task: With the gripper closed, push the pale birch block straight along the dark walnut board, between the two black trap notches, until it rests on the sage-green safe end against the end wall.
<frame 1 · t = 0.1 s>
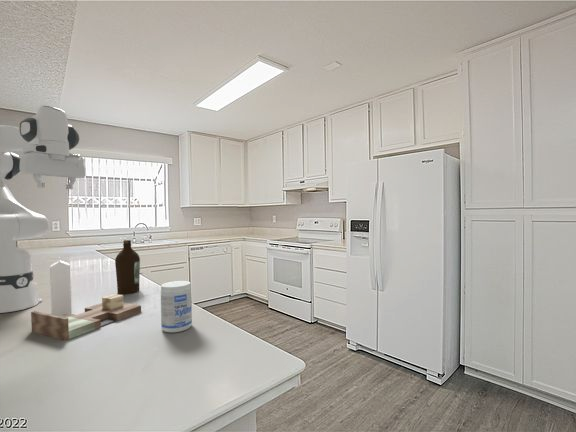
hand: (55, 188, 111), 48 cm above the counter, tool pointing down, fingers open, 8 cm apart
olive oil: (128, 292, 145), on the counter
block: (113, 306, 114), point 2 cm above the counter, touching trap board
supplement tub: (177, 328, 99), on the counter
milk: (61, 314, 114), on the counter
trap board: (90, 320, 107), on the counter
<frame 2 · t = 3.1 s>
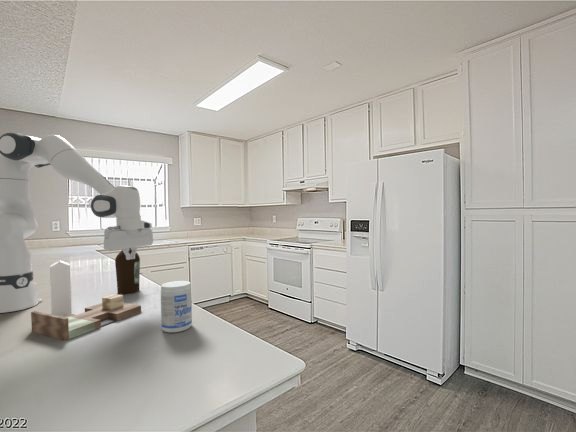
hand: (130, 259, 121), 20 cm above the counter, tool pointing down, fingers closed
nothing on the counter moved.
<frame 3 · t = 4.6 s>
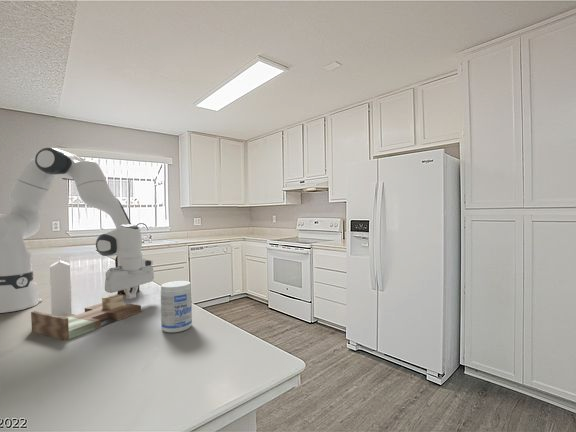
hand: (131, 297, 122), 4 cm above the counter, tool pointing down, fingers closed
nothing on the counter moved.
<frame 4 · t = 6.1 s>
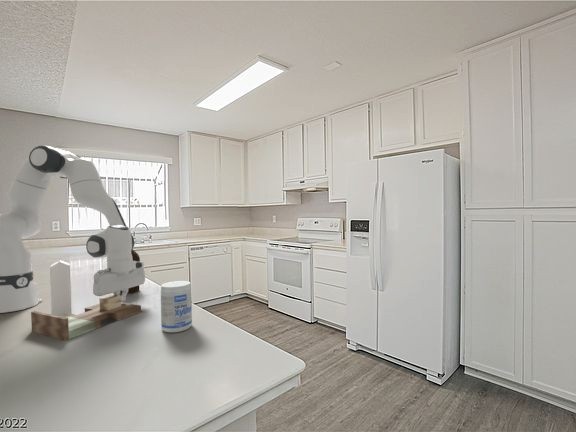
hand: (121, 301, 118), 4 cm above the counter, tool pointing down, fingers closed
block: (110, 307, 113), point 3 cm above the counter, touching gripper
everything else where it was.
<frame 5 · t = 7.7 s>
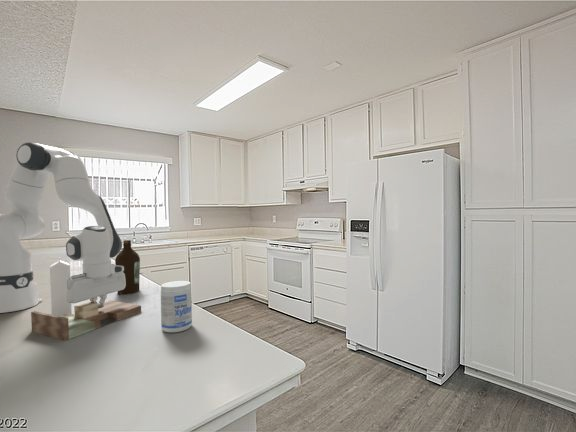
hand: (98, 308, 109), 4 cm above the counter, tool pointing down, fingers closed
block: (86, 315, 105), point 3 cm above the counter, touching gripper
everything else where it was.
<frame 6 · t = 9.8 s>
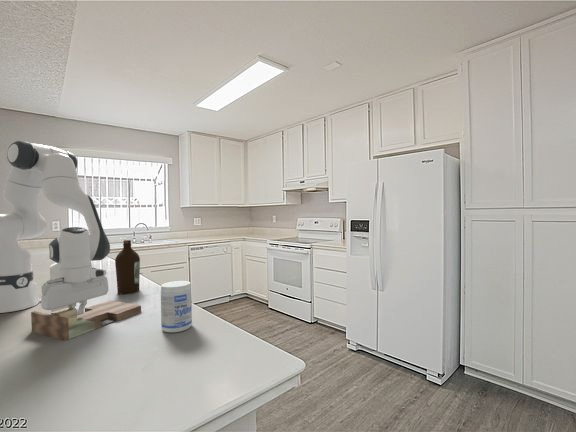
hand: (78, 314, 103), 4 cm above the counter, tool pointing down, fingers closed
block: (64, 323, 98), point 2 cm above the counter, touching gripper, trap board
everything else where it was.
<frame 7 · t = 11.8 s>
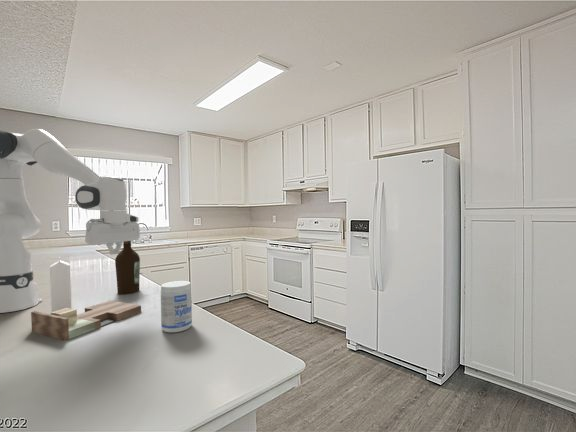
hand: (114, 254, 115), 23 cm above the counter, tool pointing down, fingers closed
block: (64, 323, 98), point 2 cm above the counter, touching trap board
everything else where it was.
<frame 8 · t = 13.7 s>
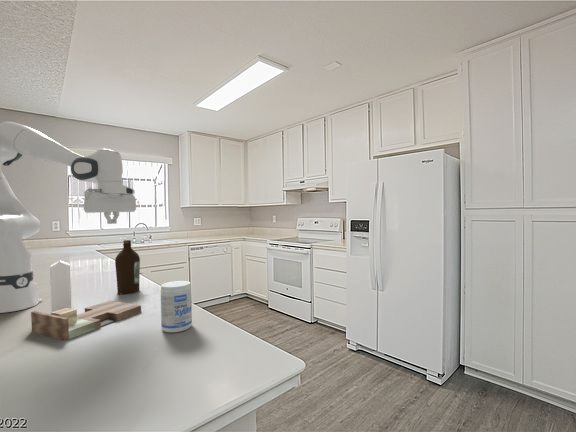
hand: (112, 223, 121), 34 cm above the counter, tool pointing down, fingers closed
nothing on the counter moved.
at the end: block inside the target area (0.7 cm from its centre), point 2.5 cm above the counter; block tilted 0° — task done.
